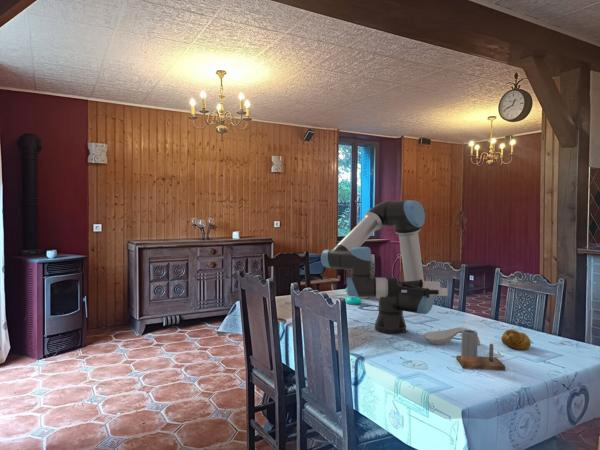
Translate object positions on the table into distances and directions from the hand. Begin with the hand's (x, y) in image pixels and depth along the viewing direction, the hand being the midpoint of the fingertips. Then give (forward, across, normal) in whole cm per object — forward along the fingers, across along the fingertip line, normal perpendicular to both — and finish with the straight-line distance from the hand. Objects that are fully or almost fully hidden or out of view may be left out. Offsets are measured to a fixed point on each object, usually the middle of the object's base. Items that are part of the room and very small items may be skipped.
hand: (443, 288), depth 163 cm
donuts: (-34, -105, -30) cm, 114 cm away
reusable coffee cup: (-28, -125, -31) cm, 131 cm away
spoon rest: (+9, -26, -30) cm, 41 cm away
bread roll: (+35, -25, -30) cm, 53 cm away
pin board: (+14, 0, -29) cm, 32 cm away
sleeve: (+10, 0, -27) cm, 29 cm away
